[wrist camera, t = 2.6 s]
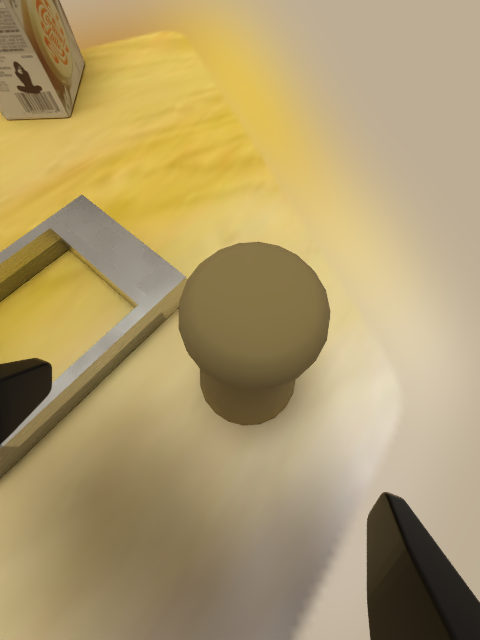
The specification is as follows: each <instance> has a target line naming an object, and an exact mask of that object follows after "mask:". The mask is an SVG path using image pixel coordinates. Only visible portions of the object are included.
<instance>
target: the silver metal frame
mask: <svg viewBox="0 0 480 640" xmlns="http://www.w3.org/2000/svg"><path fill="white" fill-rule="evenodd" d="M68 249H69V250H70V251H71V252H72V253H73V254H75V255H76V256H77V257H78V258H79V259H80V260H81V261H82V262H84V263H85V264H86V265H87V266H88V267H89V268H90V269H92V270H93V271H94V272H95V273H96V274H97V275H98V276H99V277H101V278H102V279H103V280H104V281H105V282H106V283H107V284H109V285H110V286H111V287H112V288H113V289H114V290H115V291H116V292H118V293H119V294H120V295H121V296H122V297H123V298H124V299H126V300H127V301H128V302H129V303H130V304H131V305H132V306H133V307H135V308H134V309H133V310H132V311H131V312H130V313H129V314H128V315H127V316H126V317H124V318H123V319H122V320H121V321H120V322H119V323H118V324H117V325H116V326H115V327H113V328H112V329H111V330H110V331H109V332H108V333H107V334H106V335H105V336H103V337H102V338H101V339H100V340H99V341H98V342H97V343H96V344H95V345H94V346H92V347H91V348H90V349H89V350H88V351H87V352H86V353H85V354H84V355H83V356H81V357H80V358H79V359H78V360H77V361H76V362H75V363H74V364H73V365H71V366H70V367H69V368H68V369H67V370H66V371H65V372H64V373H63V374H62V375H60V376H59V377H58V378H57V379H56V380H55V381H54V382H53V383H52V389H51V392H50V393H49V395H48V396H47V397H46V398H45V399H44V401H43V402H42V403H41V404H40V405H39V406H38V407H37V408H36V409H35V410H34V411H33V412H32V413H31V414H30V415H29V416H28V417H27V418H26V419H25V420H24V421H23V422H22V424H21V425H20V426H19V427H18V428H17V429H16V430H15V431H14V432H13V433H12V434H11V435H10V436H9V437H8V438H7V439H6V440H5V441H4V442H3V443H2V444H1V445H0V478H1V477H2V476H3V475H4V474H5V473H6V472H7V471H8V470H9V469H10V468H11V467H12V466H13V465H14V464H16V463H17V462H18V461H19V460H20V459H21V458H22V457H23V456H24V455H25V454H26V453H27V452H28V451H29V450H30V449H31V448H32V447H33V446H34V445H35V444H36V443H37V442H38V441H39V440H41V439H42V438H43V437H44V436H45V435H46V434H47V433H48V432H49V431H50V430H51V429H52V428H53V427H54V426H55V425H56V424H57V423H58V422H59V421H60V420H61V419H62V418H63V417H65V416H66V415H67V414H68V413H69V412H70V411H71V410H72V409H73V408H74V407H75V406H76V405H77V404H78V403H79V402H80V401H81V400H82V399H83V398H84V397H85V396H86V395H87V394H89V393H90V392H91V391H92V390H93V389H94V388H95V387H96V386H97V385H98V384H99V383H100V382H101V381H102V380H103V379H104V378H105V377H106V376H107V375H108V374H109V373H110V372H111V371H112V370H114V369H115V368H116V367H117V366H118V365H119V364H120V363H121V362H122V361H123V360H124V359H125V358H126V357H127V356H128V355H129V354H130V353H131V352H132V351H133V350H134V349H135V348H136V347H138V346H139V345H140V344H141V343H142V342H143V341H144V340H145V339H146V338H147V337H148V336H149V335H150V334H151V333H152V332H153V331H154V330H155V329H156V328H157V327H158V326H159V325H160V324H162V323H163V322H164V321H165V320H166V319H167V318H168V317H169V316H170V315H171V314H172V313H173V312H174V311H175V310H176V309H177V308H178V307H179V302H180V298H181V295H182V292H183V290H184V287H185V284H186V281H187V279H186V276H184V275H183V274H182V273H180V272H179V271H178V270H177V269H175V268H174V267H173V266H172V265H170V264H169V263H168V262H167V261H165V260H164V259H163V258H161V257H160V256H159V255H158V254H156V253H155V252H154V251H153V250H151V249H150V248H149V247H148V246H146V245H145V244H144V243H143V242H141V241H140V240H139V239H137V238H136V237H135V236H134V235H132V234H131V233H130V232H129V231H127V230H126V229H125V228H124V227H122V226H121V225H120V224H119V223H117V222H116V221H115V220H113V219H112V218H111V217H110V216H108V215H107V214H106V213H105V212H103V211H102V210H101V209H100V208H98V207H97V206H96V205H94V204H93V203H92V202H91V201H89V200H88V199H87V198H86V197H84V196H83V195H81V196H79V197H78V198H76V199H75V200H74V201H72V202H71V203H69V204H68V205H66V206H65V207H64V208H62V209H61V210H59V211H58V212H57V213H55V214H54V215H52V216H51V217H50V218H48V219H47V220H45V221H44V222H42V223H41V224H40V225H38V226H37V227H35V228H34V229H33V230H31V231H30V232H28V233H27V234H26V235H24V236H23V237H21V238H20V239H18V240H17V241H16V242H14V243H13V244H11V245H10V246H9V247H7V248H6V249H4V250H3V251H2V252H0V301H1V300H3V299H4V298H5V297H7V296H8V295H9V294H10V293H12V292H13V291H14V290H16V289H17V288H18V287H20V286H21V285H22V284H24V283H25V282H26V281H27V280H29V279H30V278H31V277H33V276H34V275H35V274H37V273H38V272H39V271H41V270H42V269H43V268H45V267H46V266H47V265H48V264H50V263H51V262H52V261H54V260H55V259H56V258H58V257H59V256H60V255H62V254H63V253H64V252H66V251H67V250H68Z"/></svg>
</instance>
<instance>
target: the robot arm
mask: <svg viewBox="0 0 480 640" xmlns="http://www.w3.org/2000/svg"><path fill="white" fill-rule="evenodd" d="M51 389H52V366H51V364H50V363H49V362H46V361H44V360H41V359H38V358H32V359H26V360H21V361H15V362H10V363H4V364H0V445H1V444H2V443H3V442H4V441H5V440H6V439H7V438H8V437H9V436H10V435H11V434H12V433H13V432H14V431H15V430H16V429H17V428H18V427H19V426H20V425H21V424H22V422H23V421H24V420H25V419H26V418H27V417H28V416H29V415H30V414H31V413H32V412H33V411H34V410H35V409H36V408H37V407H38V406H39V405H40V404H41V403H42V402H43V401H44V399H45V398H46V397H47V396H48V395H49V393H50V392H51ZM367 604H368V617H369V628H370V638H371V640H480V602H479V601H478V600H477V598H476V597H475V595H474V594H473V593H472V591H471V590H470V589H469V587H468V586H467V585H466V583H465V582H464V580H463V579H462V578H461V576H460V575H459V574H458V572H457V571H456V569H455V568H454V567H453V565H452V564H451V563H450V561H449V560H448V559H447V557H446V556H445V555H444V553H443V552H442V551H441V549H440V548H439V546H438V545H437V544H436V542H435V541H434V539H433V538H432V537H431V536H430V534H429V533H428V531H427V530H426V529H425V528H424V526H423V525H422V523H421V522H420V520H419V519H418V518H417V516H416V515H415V514H414V512H413V511H412V510H411V508H410V507H409V505H408V504H407V503H406V502H405V500H404V499H402V498H401V497H399V496H396V495H394V494H391V493H388V492H384V493H382V494H381V495H380V497H379V498H378V500H377V502H376V503H375V505H374V506H373V508H372V510H371V511H370V513H369V515H368V519H367Z"/></svg>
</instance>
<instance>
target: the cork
mask: <svg viewBox="0 0 480 640" xmlns="http://www.w3.org/2000/svg"><path fill="white" fill-rule="evenodd" d="M329 320H330V308H329V303H328V298H327V294H326V290H325V288H324V286H323V285H322V283H321V281H320V280H319V278H318V276H317V275H316V273H315V272H314V270H313V269H312V268H311V267H310V266H309V265H307V264H306V263H305V262H304V261H303V260H302V259H301V258H300V257H299V256H297V255H296V254H294V253H292V252H290V251H288V250H286V249H284V248H282V247H280V246H277V245H271V244H266V243H261V242H252V243H238V244H235V245H232V246H229V247H226V248H224V249H221V250H219V251H217V252H216V253H215V254H213V255H212V256H210V257H209V258H207V259H206V260H204V261H203V262H202V263H200V264H199V266H198V267H197V268H196V269H195V271H194V272H193V273H192V275H191V276H190V277H189V278H188V280H187V281H186V284H185V287H184V290H183V292H182V295H181V298H180V302H179V331H180V334H181V336H182V339H183V342H184V345H185V348H186V350H187V352H188V354H189V355H190V357H191V358H192V359H193V360H194V361H195V363H196V364H197V365H198V366H199V368H200V385H201V389H202V392H203V394H204V397H205V400H206V402H207V403H208V404H209V405H210V407H211V408H212V409H213V410H214V412H215V413H216V414H218V415H219V416H221V417H223V418H224V419H226V420H227V421H229V422H233V423H237V424H241V425H254V424H261V423H263V422H266V421H268V420H270V419H272V418H274V417H275V416H277V415H278V414H279V413H280V412H281V411H282V410H283V409H284V408H285V407H286V405H287V404H288V402H289V400H290V398H291V396H292V394H293V390H294V384H295V379H297V378H298V377H299V376H300V375H301V374H302V373H303V372H304V371H305V370H307V369H308V368H309V367H310V366H311V365H312V364H313V363H314V362H315V361H316V359H317V357H318V355H319V354H320V352H321V350H322V348H323V346H324V344H325V342H326V340H327V334H328V327H329Z"/></svg>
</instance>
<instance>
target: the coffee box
mask: <svg viewBox="0 0 480 640" xmlns="http://www.w3.org/2000/svg"><path fill="white" fill-rule="evenodd" d="M84 63H85V62H84V59H83V57H82V55H81V52H80V50H79V47H78V45H77V43H76V40H75V38H74V35H73V32H72V30H71V27H70V25H69V23H68V20H67V18H66V16H65V13H64V11H63V8H62V6H61V3H60V1H59V0H0V111H1V113H2V114H3V116H4V117H5V118H6V119H8V120H14V119H39V118H67V117H70V115H71V112H72V108H73V104H74V101H75V97H76V93H77V90H78V86H79V82H80V79H81V75H82V71H83V67H84Z"/></svg>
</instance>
